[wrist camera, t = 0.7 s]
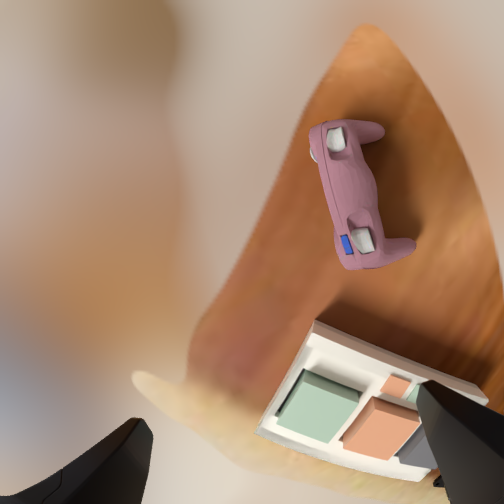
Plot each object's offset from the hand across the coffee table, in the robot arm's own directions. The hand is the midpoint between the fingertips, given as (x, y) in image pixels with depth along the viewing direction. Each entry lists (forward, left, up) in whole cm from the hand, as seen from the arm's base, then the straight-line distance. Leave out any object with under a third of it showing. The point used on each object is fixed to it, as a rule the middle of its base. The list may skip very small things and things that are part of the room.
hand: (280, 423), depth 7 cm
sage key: (-3, +5, -11) cm, 13 cm away
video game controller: (0, -9, -14) cm, 17 cm away
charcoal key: (-14, +5, -11) cm, 19 cm away
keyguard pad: (-9, +5, -13) cm, 17 cm away
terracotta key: (-9, +5, -11) cm, 15 cm away
